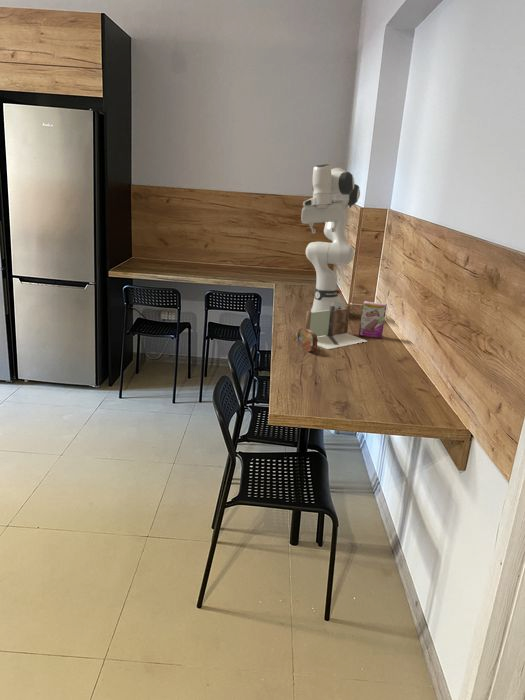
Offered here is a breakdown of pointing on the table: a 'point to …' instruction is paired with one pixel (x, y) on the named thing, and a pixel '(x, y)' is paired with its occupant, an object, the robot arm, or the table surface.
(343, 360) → the table surface
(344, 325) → the fence
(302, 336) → the tin
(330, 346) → the card
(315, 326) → the fence panel
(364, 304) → the candy bar box
